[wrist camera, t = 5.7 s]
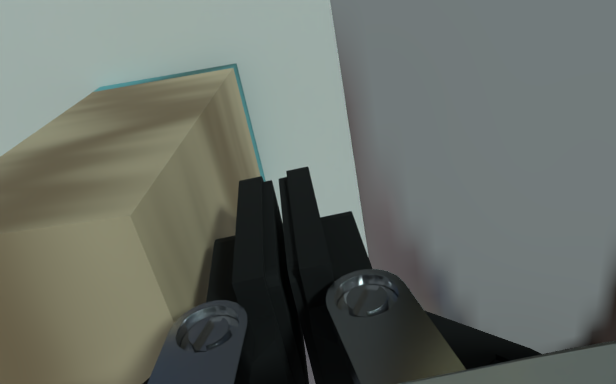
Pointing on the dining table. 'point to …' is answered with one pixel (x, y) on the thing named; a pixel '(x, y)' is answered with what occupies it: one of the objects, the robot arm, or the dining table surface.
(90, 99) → the oak block
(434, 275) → the dining table surface
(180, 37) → the grey mat
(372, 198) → the dining table surface
